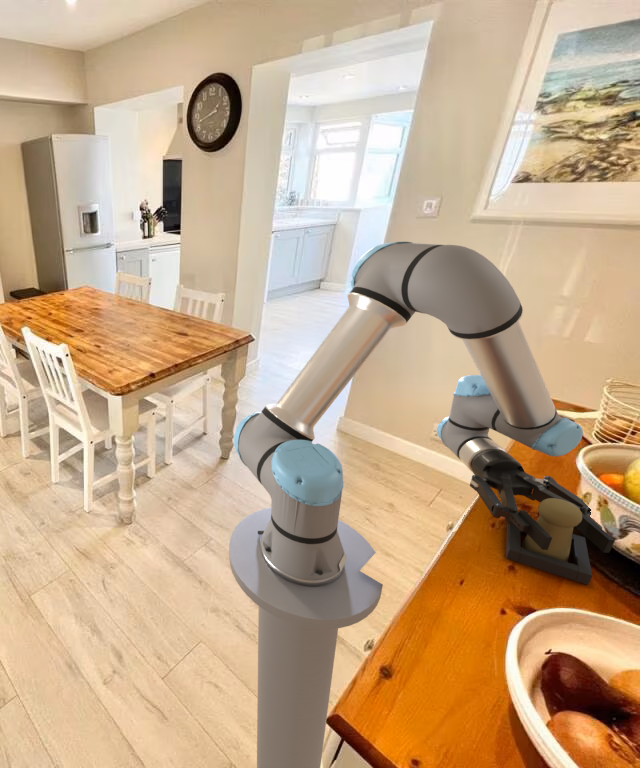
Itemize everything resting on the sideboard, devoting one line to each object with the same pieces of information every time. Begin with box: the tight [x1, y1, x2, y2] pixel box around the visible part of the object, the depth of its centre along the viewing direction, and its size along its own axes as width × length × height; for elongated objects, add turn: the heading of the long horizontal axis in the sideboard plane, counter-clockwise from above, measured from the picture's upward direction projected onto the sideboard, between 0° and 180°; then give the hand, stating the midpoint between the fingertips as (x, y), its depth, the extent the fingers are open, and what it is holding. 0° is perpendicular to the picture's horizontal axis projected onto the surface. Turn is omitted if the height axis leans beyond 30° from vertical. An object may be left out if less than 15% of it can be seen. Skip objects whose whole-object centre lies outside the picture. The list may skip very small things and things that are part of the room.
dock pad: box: [506, 523, 593, 586], centre depth 72 cm, size 10×10×2 cm
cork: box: [521, 498, 582, 563], centre depth 70 cm, size 6×6×11 cm
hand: (577, 544), depth 66 cm, fingers open, 8 cm apart
